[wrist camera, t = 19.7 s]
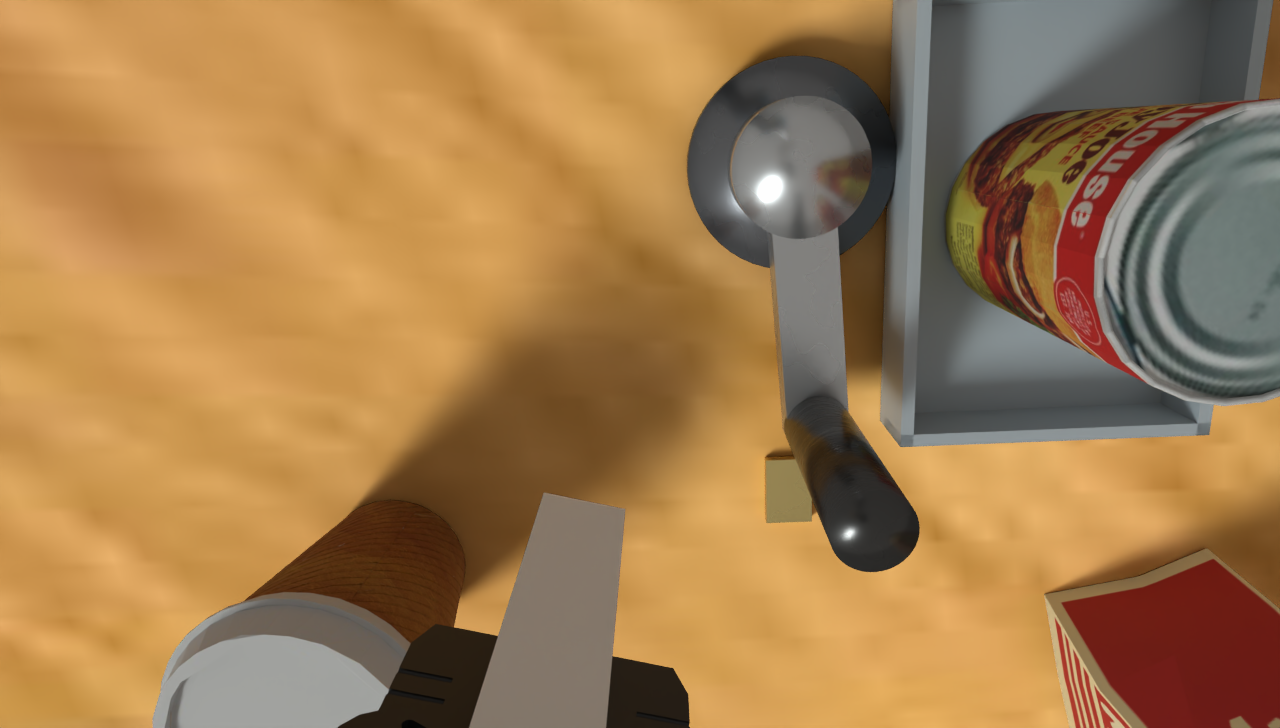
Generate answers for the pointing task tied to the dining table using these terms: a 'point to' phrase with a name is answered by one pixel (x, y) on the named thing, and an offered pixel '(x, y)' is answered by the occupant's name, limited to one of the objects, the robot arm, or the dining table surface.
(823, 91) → the crank base
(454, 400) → the dining table surface
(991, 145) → the canned food
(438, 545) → the disposable coffee cup
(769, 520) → the beige flat block
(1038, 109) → the tray
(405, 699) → the robot arm
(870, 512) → the crank
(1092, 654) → the milk carton
